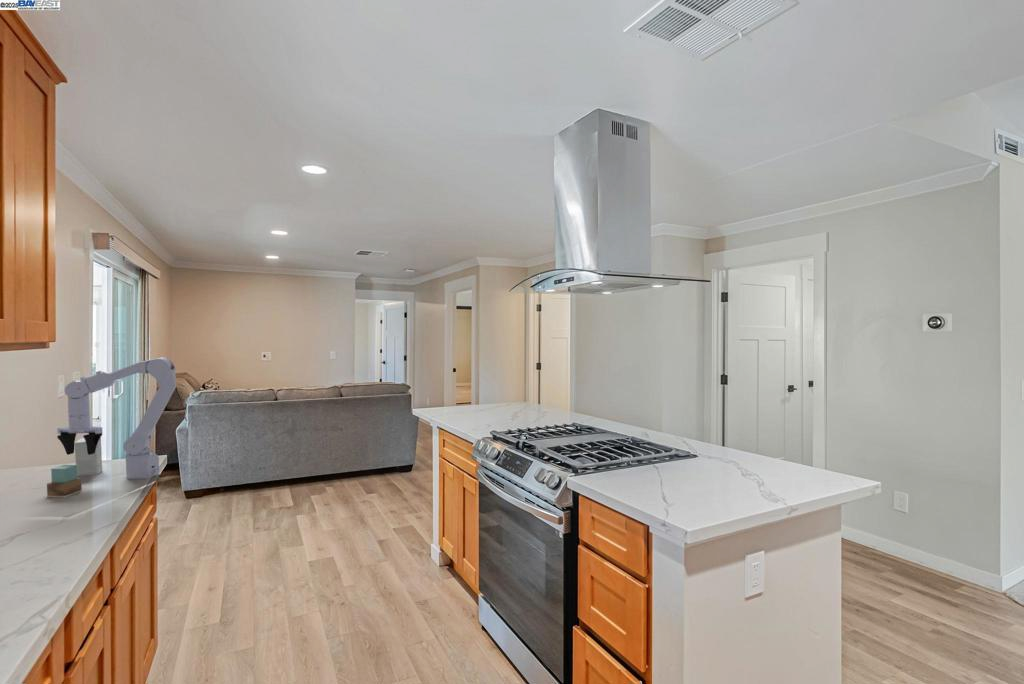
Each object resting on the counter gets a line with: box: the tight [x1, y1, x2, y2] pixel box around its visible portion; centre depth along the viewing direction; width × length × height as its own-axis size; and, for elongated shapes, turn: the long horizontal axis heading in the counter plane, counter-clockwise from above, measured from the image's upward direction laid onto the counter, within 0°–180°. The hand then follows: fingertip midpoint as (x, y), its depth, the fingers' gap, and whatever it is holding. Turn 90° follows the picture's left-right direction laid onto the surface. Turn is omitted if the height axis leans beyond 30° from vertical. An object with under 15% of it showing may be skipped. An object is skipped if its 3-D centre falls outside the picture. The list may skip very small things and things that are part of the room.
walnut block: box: [46, 477, 83, 497], centre depth 169 cm, size 6×6×4 cm
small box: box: [74, 436, 103, 477], centre depth 193 cm, size 8×6×13 cm
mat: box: [44, 488, 85, 498], centre depth 169 cm, size 16×9×1 cm, turn 88°
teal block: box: [50, 464, 79, 483], centre depth 169 cm, size 4×4×4 cm
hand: (80, 453), depth 181 cm, fingers open, 7 cm apart
